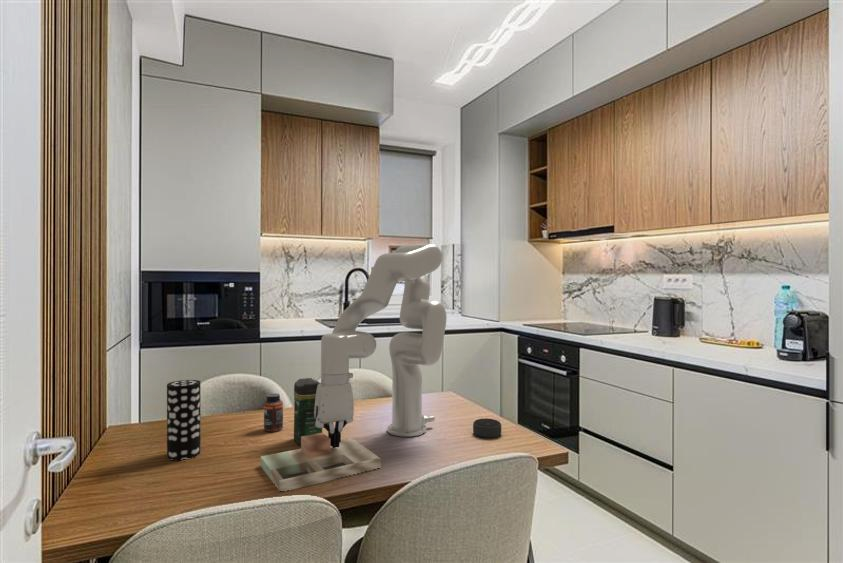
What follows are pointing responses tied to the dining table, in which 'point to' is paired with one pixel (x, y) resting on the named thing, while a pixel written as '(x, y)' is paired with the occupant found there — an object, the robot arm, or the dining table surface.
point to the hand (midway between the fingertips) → (334, 445)
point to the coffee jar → (305, 408)
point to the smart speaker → (487, 428)
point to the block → (315, 445)
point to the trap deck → (318, 465)
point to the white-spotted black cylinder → (183, 419)
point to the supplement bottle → (273, 413)
